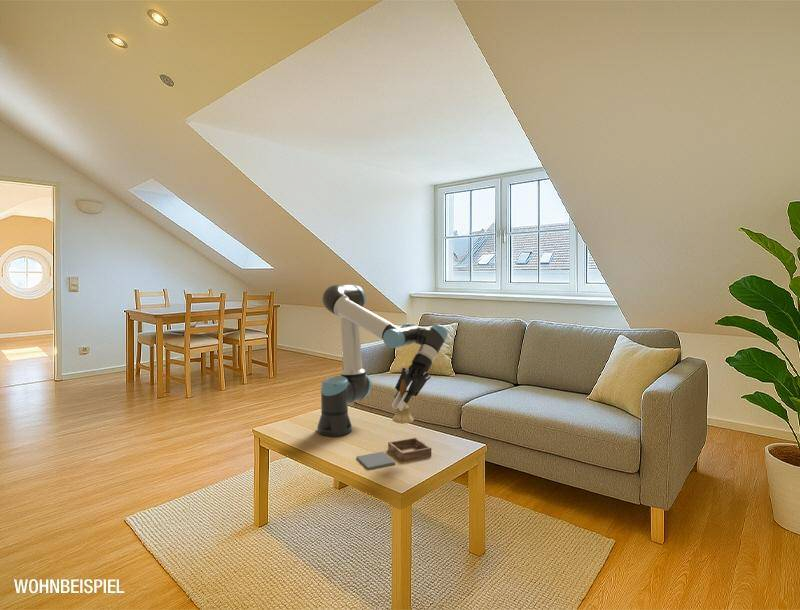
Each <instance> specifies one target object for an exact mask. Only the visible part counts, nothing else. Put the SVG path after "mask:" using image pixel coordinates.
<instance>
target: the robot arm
mask: <svg viewBox="0 0 800 610" xmlns="http://www.w3.org/2000/svg"><path fill="white" fill-rule="evenodd" d="M321 301H322V304H323V306H324V308H325V309H326V310H327V311H329V313H331V314H333V315H335V316H337V317H338V318H340V319H339V320H340V329H341V330H340V331H341V332H340V334H341V344H342V345H341V346H342V347H341V348H342V361H343V370H342V371H341V372H340V375H337V376H336V375H335V376H330V377H326V378H325V379H324V380H323V381H322V382H321V387H320V393H321V395H320V396H321V398H320V403H321V406H320V407H321V408H320V411H321V413H320V418H319V419H318V420H319V421H318V424H317V427H316V429H317V434H319V435H321V436H324V437H342V436H346V435H348V434H350V433H351V432H352V431H353V429H352V427H353V424H352V422H351V419H350V416H349V404H352V403H355V402H357V401H361V400H363V399H364V398H366V397H368V396H369V395H370V393H371V390H372V380H371V378H369V375H367V372H366V371H367V370H366V369H364V368H363V361H362V359H363V357H362V345H361V344H362V341H361V331H360V330H361V329H360V327H361V328H362V329H364V330H366V331H368V332H369V333H371V334H372V335H374V336H376V337H378V338H380V339H381V340H383V343H384V344H385V346H386V347H387V348H391V349H398V348H401V347H404V346H409V345H412V344H416V345H419V348H418V350H417V351H416V354H415V355H414V357H413V359H412V361H411V364H410V365H409V367H407V368H405V367H402V369H401V374H400V376H399V379H398V380H397V383H396V385H395V387H394V389H396V391H397V392H396V394H395V395H394V399H393V401H392V403H391V407H392V409H394V410H397V408H398V409H399V410H400V411H402V410H403V408H404V406H405V404H406V405H407V404H408V403H409V401H410V399H411V398H412V397H413V396H414V397H417V396H418V394H419V393H420V391H421V390H422V389H423V387H424V386H425V384H426V383H427V381H429V380H430V379H431V377H432V376H431V375H430V374H429V372H428V371H430V369H431V367H432V365H433V362H434V361H435V359H436V358H437V356H438V354H439V352H440V351H441V348H442V346H443V345H444V343H445V342H446V339H447V337H448V333H449V332H448V330H447V329H446V327H444V326H442V325H441V324H438V323H437V324H433V325H432V326H430V328H429V327H424V326H420V325H417V324H414V323H408V322H405V323H403V325H401V327H399V326H397V325H395V324H394V323H392V322H390V321H388V320H387V319H385V318H383V317H381V316H379V315H378V314H376V313H373V312H372V311H370V310H369V309H367V308H365V307H364V306H365V304H366V302H367V297H366V293H365V291H364V289H363V288H362V287H361V286H359V285H357V284H339V285H338V284H334V285H330V286H329V287H327V288H326V289H325V290H324V292H323V294H322V300H321ZM402 379H405V382H406V386H407V388H408V390H406V393H405V394H404V395H403V397H402V399H401V393H400V384H401V381H402ZM408 386H409V387H408Z"/></svg>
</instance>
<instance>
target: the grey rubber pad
mask: <svg viewBox="0 0 800 610" xmlns="http://www.w3.org/2000/svg"><path fill="white" fill-rule="evenodd" d="M356 459H357V461H358V462H359V463H361V464H362V466H364V468H365V469H367V470H368V469H369V470H372V469H374V470H375V469H378V468H382V467H383V468H384V467H388V466H393V465H396V461H395V460H393V459H392V458H391V457H390V456H388V455H387V454H386V453H385V452H384V451H380V452H374V453H373V452H372V453H368V454H363V455H356Z"/></svg>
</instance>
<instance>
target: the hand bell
mask: <svg viewBox="0 0 800 610" xmlns="http://www.w3.org/2000/svg"><path fill="white" fill-rule="evenodd" d="M407 388H408V387H407V386H406V382H405V379H402V381H401V384H400V393H401V399H402V397H403V395H404V394H405V393H407V392H406V391H408V390H407ZM391 420H392V421H393V422H394V423H396V424H403V425H404V424H410V423H413V422H414V417H413V416H412V415H411V412H410V406H409V405H407V403H406V404H405V406H404V408H403V410H402V411H400V410H399V409H398V408H396V413H395V415H394V416H393V417H392V419H391Z"/></svg>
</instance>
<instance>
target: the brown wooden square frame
mask: <svg viewBox="0 0 800 610" xmlns="http://www.w3.org/2000/svg"><path fill="white" fill-rule="evenodd" d="M414 445H415V446H414ZM387 446H388V447H387V450H388V451H389V452H390V453H392V454H393V455H394V456H395V457H397V458H398V459H399V460H400V461H401V462H406V461H412V460H416V459H420V458H421V459H422V458H426V457H427V458H428V457H431V456H432V447H430V446H429V445H428V444H426V443H425V442H423V441H422V440H420V439H419V438H418V437H412V438H405V439H401V440H393V441H389V442H388V444H387ZM409 446H410V447H416V446H417V447H416V448H418V449H414V450H408V451H405V452H404V451H403V450H402V449H405V448H410V447H409ZM404 447H405V448H404ZM398 448H399V449H398Z"/></svg>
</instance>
